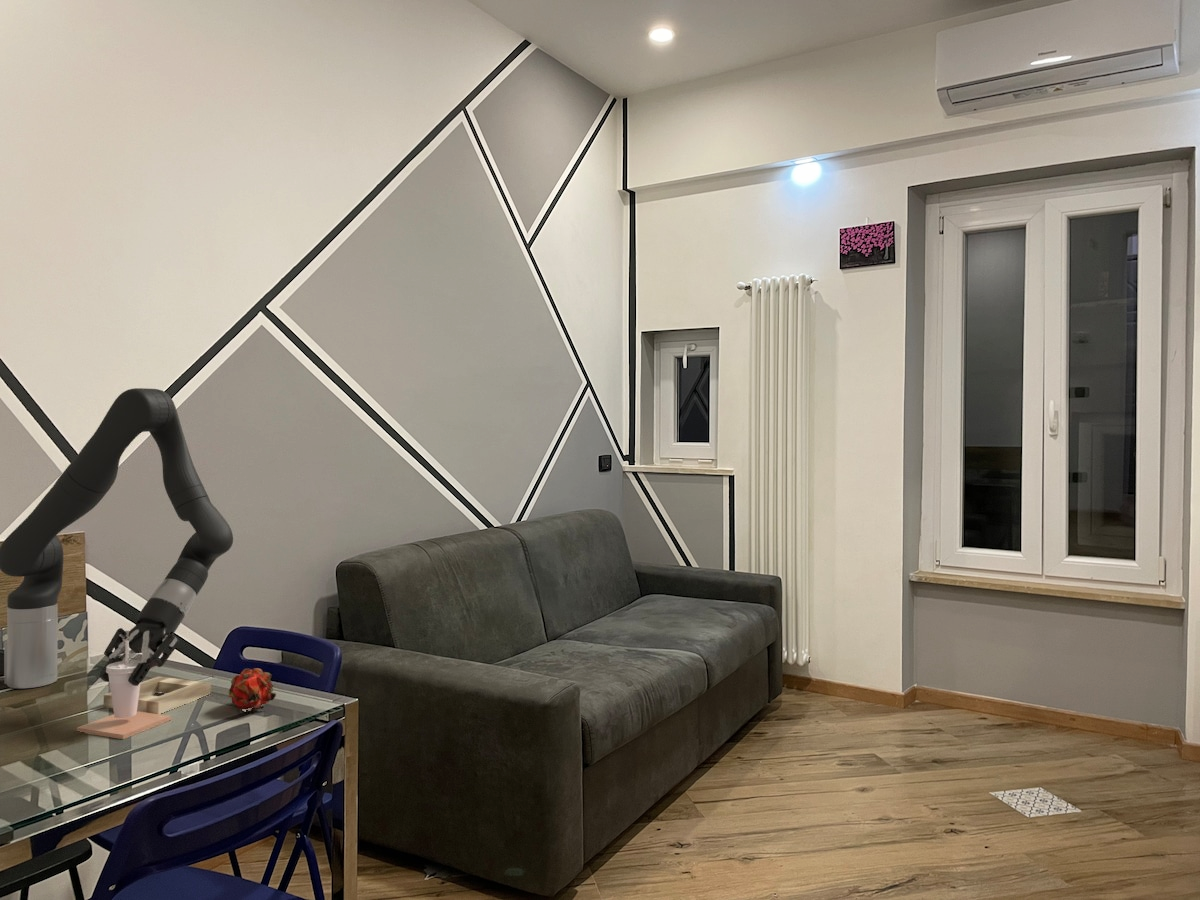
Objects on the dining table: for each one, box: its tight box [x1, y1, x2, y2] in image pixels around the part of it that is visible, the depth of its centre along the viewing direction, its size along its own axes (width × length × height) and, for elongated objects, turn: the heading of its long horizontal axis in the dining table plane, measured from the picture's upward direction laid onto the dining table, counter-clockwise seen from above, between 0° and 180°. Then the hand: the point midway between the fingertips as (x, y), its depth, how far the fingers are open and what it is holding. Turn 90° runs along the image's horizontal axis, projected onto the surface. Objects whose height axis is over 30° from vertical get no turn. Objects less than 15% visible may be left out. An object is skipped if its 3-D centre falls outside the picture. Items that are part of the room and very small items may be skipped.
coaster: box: [76, 711, 172, 740], centre depth 163 cm, size 11×11×1 cm
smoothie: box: [106, 641, 142, 718], centre depth 163 cm, size 6×6×14 cm
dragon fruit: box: [228, 667, 277, 712], centre depth 174 cm, size 8×8×12 cm
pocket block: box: [103, 675, 212, 715], centre depth 178 cm, size 14×14×2 cm
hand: (118, 681), depth 161 cm, fingers closed on smoothie, 6 cm apart
